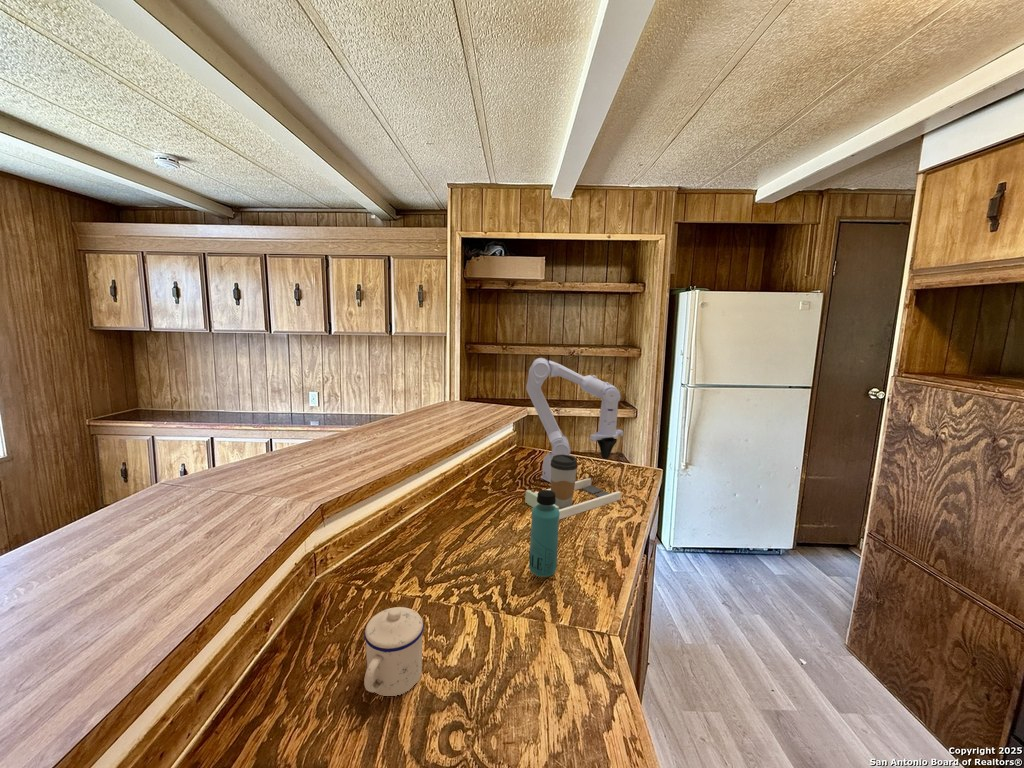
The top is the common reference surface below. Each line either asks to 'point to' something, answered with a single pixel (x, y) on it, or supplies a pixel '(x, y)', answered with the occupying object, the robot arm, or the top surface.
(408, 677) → the teacup with lid
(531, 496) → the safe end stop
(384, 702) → the top surface
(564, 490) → the coffee cup
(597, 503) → the lane box
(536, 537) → the beverage bottle
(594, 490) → the trap pits
